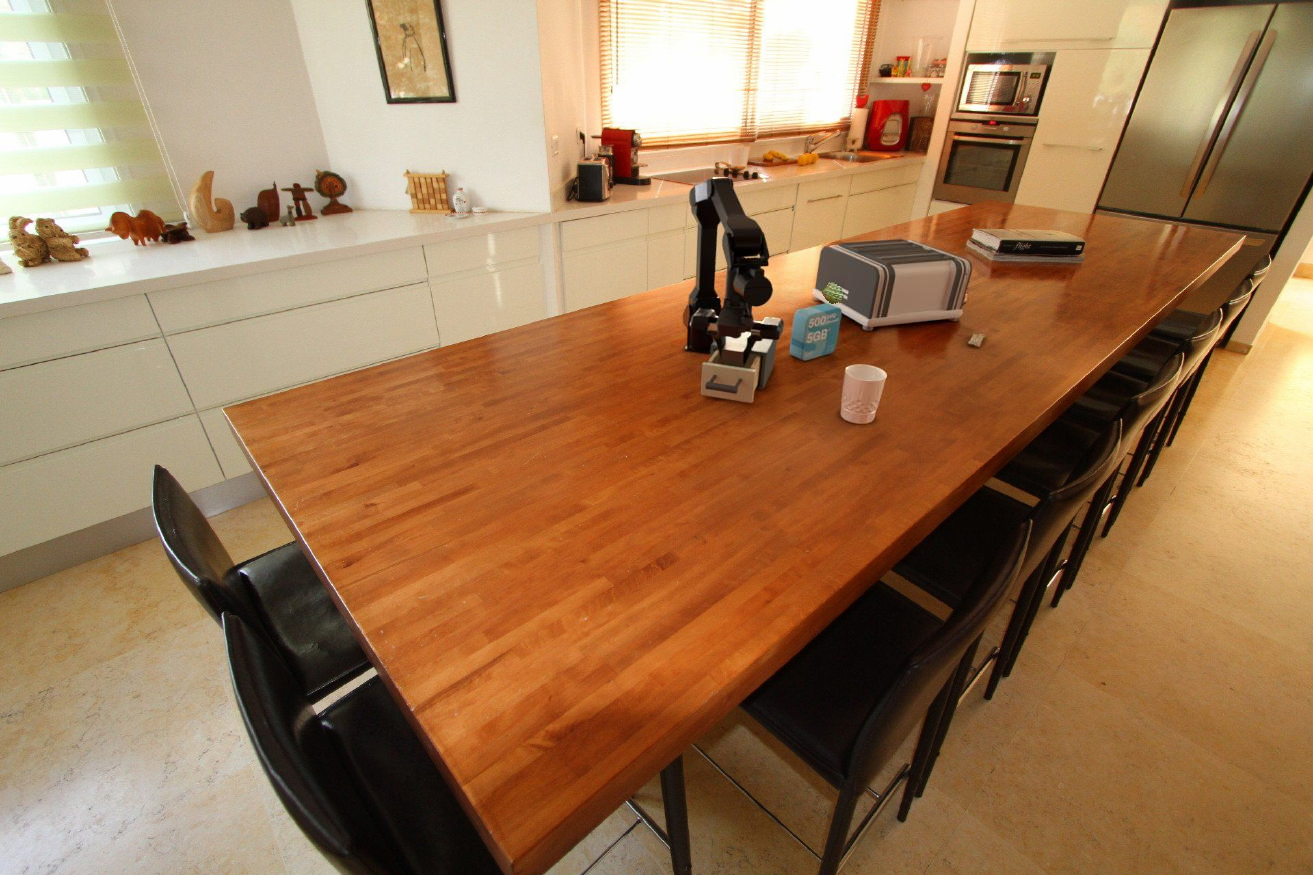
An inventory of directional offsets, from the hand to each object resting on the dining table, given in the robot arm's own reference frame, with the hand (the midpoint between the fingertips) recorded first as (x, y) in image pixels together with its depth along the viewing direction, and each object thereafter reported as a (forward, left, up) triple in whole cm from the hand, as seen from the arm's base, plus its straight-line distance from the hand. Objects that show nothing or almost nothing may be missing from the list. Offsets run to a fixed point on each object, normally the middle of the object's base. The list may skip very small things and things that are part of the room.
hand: (733, 361), depth 128 cm
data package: (+14, +28, -8) cm, 33 cm away
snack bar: (+54, +52, -8) cm, 76 cm away
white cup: (+27, -2, -8) cm, 28 cm away
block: (0, 0, -1) cm, 1 cm away
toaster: (+31, +72, -8) cm, 79 cm away
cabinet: (0, +10, -7) cm, 13 cm away
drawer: (0, -2, -7) cm, 7 cm away
